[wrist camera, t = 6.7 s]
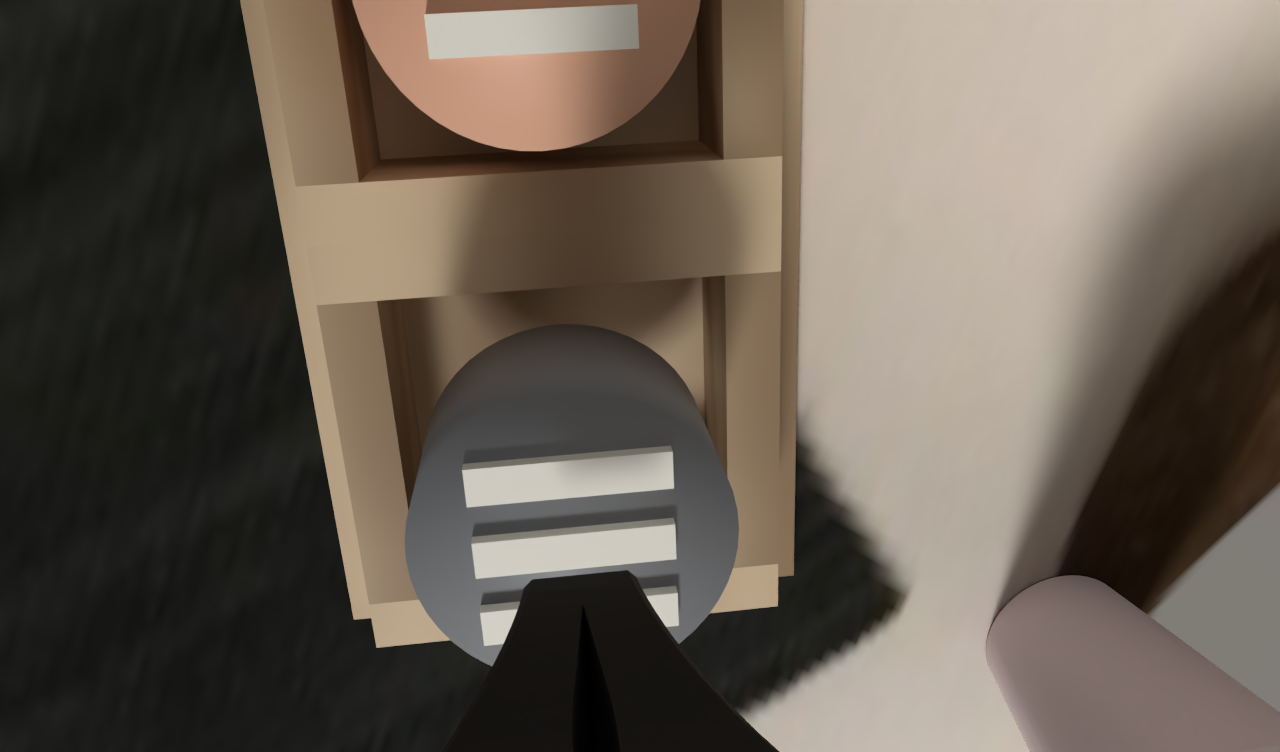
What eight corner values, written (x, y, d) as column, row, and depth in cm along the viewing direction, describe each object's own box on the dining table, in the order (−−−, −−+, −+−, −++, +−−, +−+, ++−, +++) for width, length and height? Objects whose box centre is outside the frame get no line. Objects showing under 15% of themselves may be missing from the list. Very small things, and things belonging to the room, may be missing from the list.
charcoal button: (443, 589, 18) (425, 705, 15) (407, 335, 16) (379, 411, 13) (707, 563, 18) (742, 671, 15) (702, 313, 16) (740, 381, 13)
